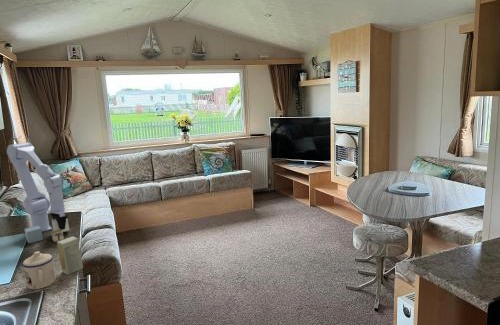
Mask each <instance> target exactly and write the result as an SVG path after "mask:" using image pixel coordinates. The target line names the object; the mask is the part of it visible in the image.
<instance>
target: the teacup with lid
mask: <svg viewBox="0 0 500 325" xmlns="http://www.w3.org/2000/svg"><path fill="white" fill-rule="evenodd" d="M53 259H54V257H53V255H52V254H50V253H41V252H40V251H39V250H38V251H35V252H33V254H32V255H31V256H30V257H28V258H26V259H25V260H23V263H22V266H23V269H24V274H25V275H24V277H25V281H26V287H27V288H28V289H30V290H40V288H41V289H44V287H45V288H47V287H50V286H51V285H53V284H54V283H55V281H56V275H55V268H54V262H53Z"/></svg>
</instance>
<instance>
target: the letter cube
mask: <svg viewBox="0 0 500 325" xmlns="http://www.w3.org/2000/svg"><path fill="white" fill-rule="evenodd" d="M50 234H51V240H52V241H53V242H54V243H55V242H56V243H57V242H58V241H61V240H64V239H65V238H64V237H65V236H64V232H63V231H62V230H61V229H59V230H55V231H53V230H51V231H50Z"/></svg>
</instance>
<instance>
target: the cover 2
mask: <svg viewBox="0 0 500 325" xmlns="http://www.w3.org/2000/svg"><path fill="white" fill-rule="evenodd" d="M51 226H52V231H55V230H59V226H58V223H57V221H56V219H53V218H52V219H51ZM62 231H63V233H65V232H68V231H70V226H69V220H68V218H67V219H66V225H65V229H63V230H62Z"/></svg>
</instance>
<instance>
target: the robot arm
mask: <svg viewBox="0 0 500 325" xmlns="http://www.w3.org/2000/svg"><path fill="white" fill-rule="evenodd" d="M6 154H7V157H8V159H9V161H10V164H11V163H12V164H13V166H14V168H15V172H16V173H17V176H18V179H19V181H20V182H21V186H22V187H23V190H24V191H25V192H24V193H25V195H26V197H25V198H24V200H23V205H24V210H25V212H26V213H27V215H30V222H31V227H34V226H39V227H40V228H41V230H42V232H46V231H50V230H53V227H51V225H50V222H49V215H50V216H51V218H52V220H53V219H56V221H57V223H58V226H59V229H61V230H63V229H65V225H66V219H68V215H69V214H67V213H66V214H65V212H66V208H65V204H64V196H63V189H62V186H64V178H63V176H62V175H60V174H58V173H56V172H54V171H53V169H52V168H50V166H49V165H48V164H45V163H43V162H42V161H41V159H40V157H38V156H37V154H36V153H35V147H34V146H33V144H32V143H31V142H28V141H27V142H22V143H21V142H20V143H15V144H9V145H8V146H7V149H6ZM28 162H29V163H30V164H31V165H32V166H33V167H34V168H35V173H36V174H37V175H38V177H40V178H41V179H42V181H43V185H44V187H45V189H46V192H47V194H48V197H49V198H47V197H46V194H45V193H42V192H40V191H39V189H38V187H37V185H36V182H35V180H34V178H33V175H32V173H31V171H30V169H29V167H28V164H27V163H28ZM49 209H50V210H49ZM48 213H49V215H48Z"/></svg>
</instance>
